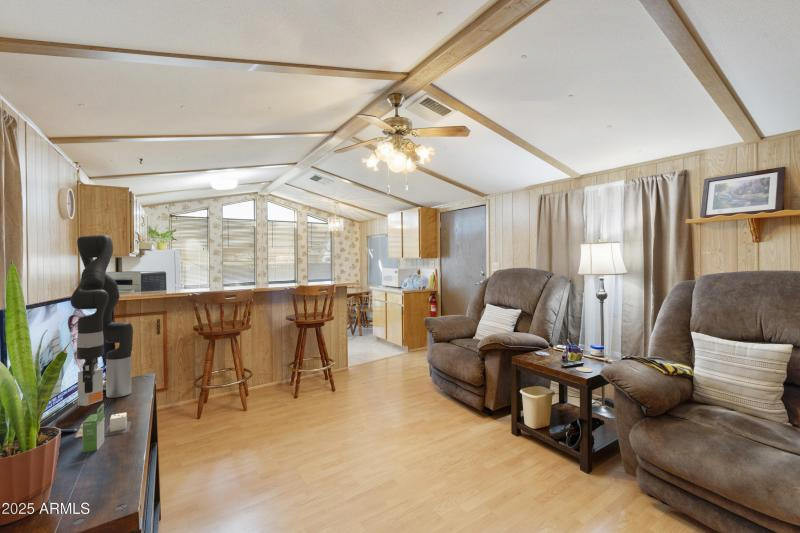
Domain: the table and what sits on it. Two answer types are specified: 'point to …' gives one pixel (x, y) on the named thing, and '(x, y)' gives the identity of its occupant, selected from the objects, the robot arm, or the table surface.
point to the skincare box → (97, 391)
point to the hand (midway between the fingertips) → (90, 389)
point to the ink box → (93, 431)
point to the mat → (118, 430)
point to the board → (80, 431)
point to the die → (118, 421)
